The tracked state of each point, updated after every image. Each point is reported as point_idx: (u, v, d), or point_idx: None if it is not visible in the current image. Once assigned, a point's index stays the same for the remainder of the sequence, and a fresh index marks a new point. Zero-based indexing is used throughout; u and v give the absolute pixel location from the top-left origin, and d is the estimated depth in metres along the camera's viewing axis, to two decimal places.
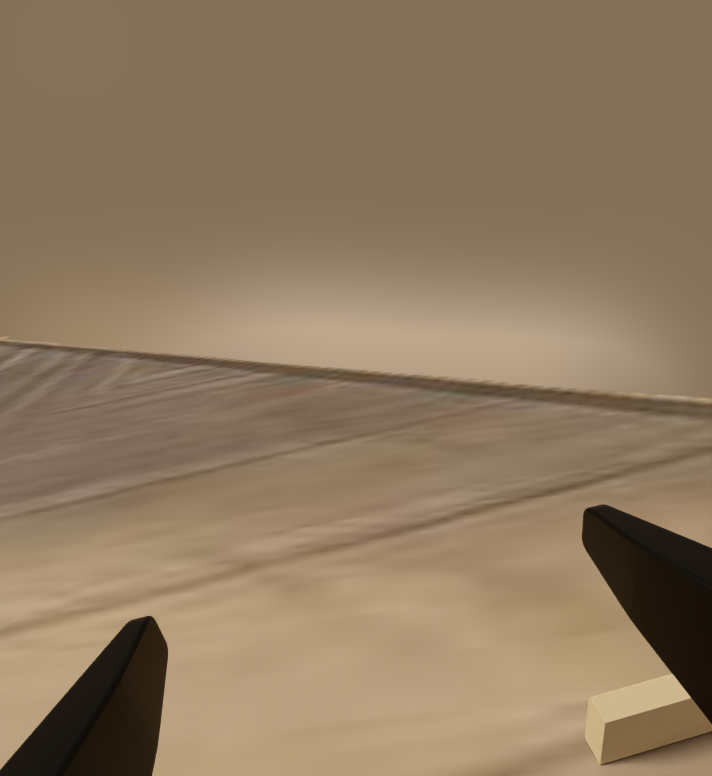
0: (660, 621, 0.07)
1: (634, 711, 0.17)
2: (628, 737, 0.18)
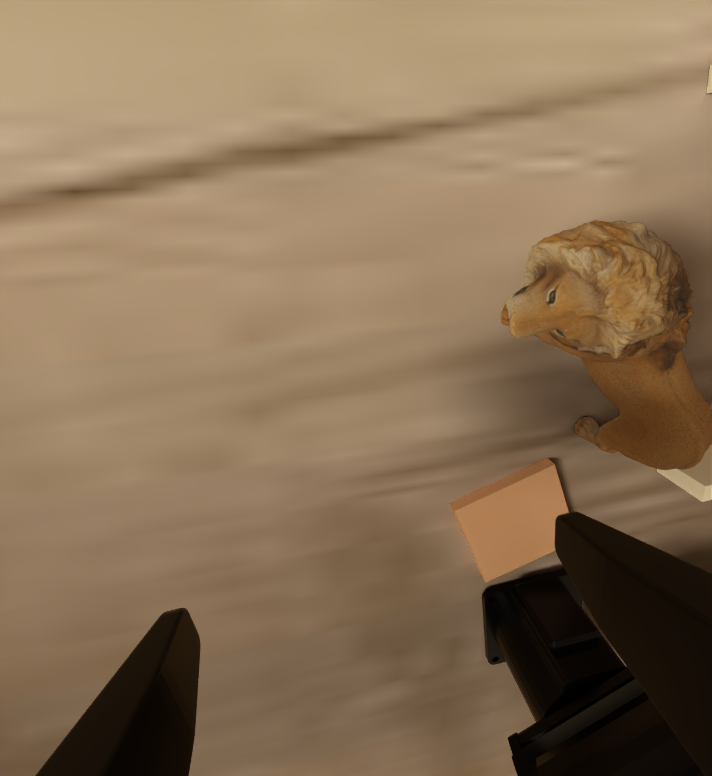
0: (626, 630, 0.07)
1: None
2: None
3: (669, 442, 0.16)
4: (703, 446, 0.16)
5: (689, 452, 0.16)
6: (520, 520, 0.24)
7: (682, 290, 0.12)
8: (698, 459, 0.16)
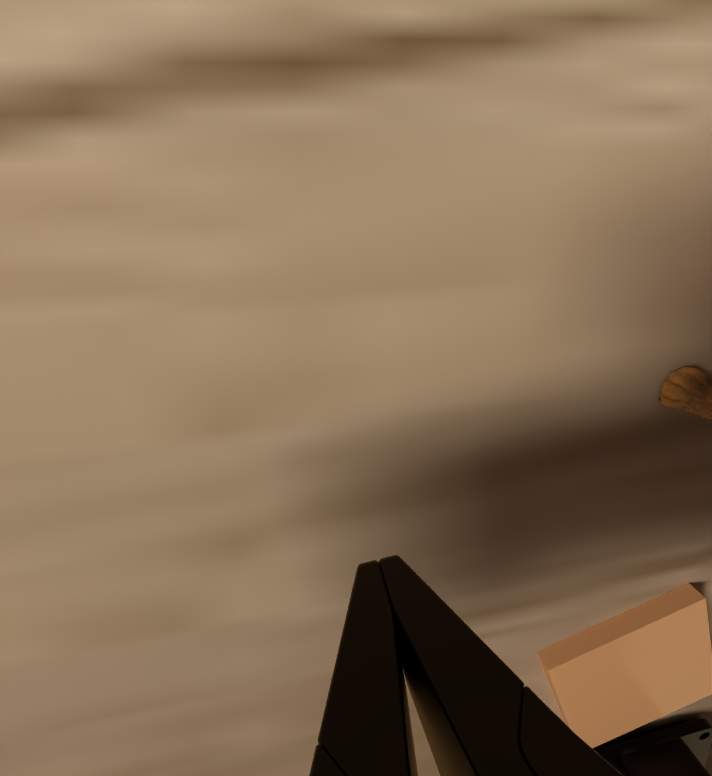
0: (414, 688, 0.07)
1: None
2: None
3: None
4: None
5: None
6: (641, 674, 0.16)
7: None
8: None
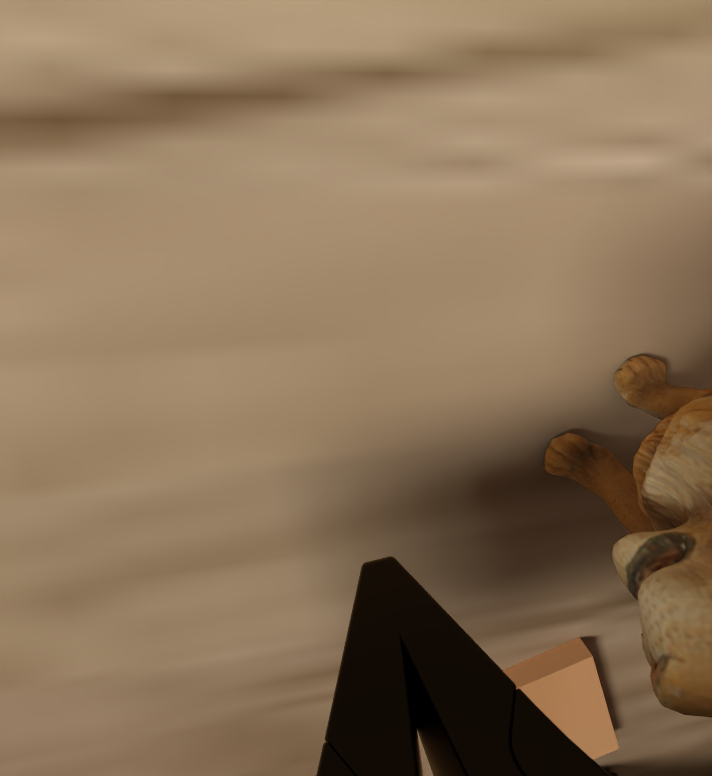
0: None
1: None
2: None
3: None
4: None
5: None
6: None
7: None
8: None
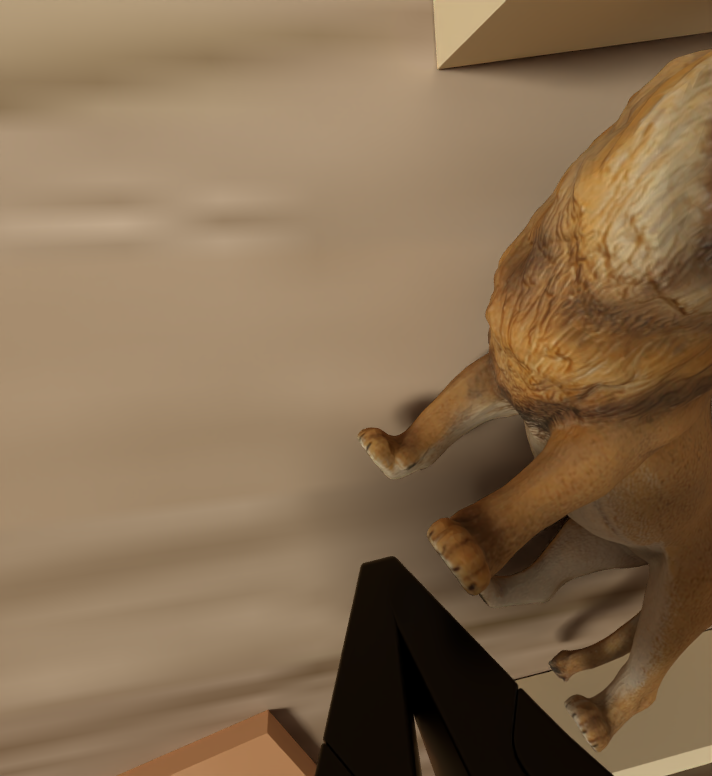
0: (410, 690, 0.07)
1: None
2: (542, 27, 0.06)
3: None
4: None
5: None
6: None
7: None
8: None
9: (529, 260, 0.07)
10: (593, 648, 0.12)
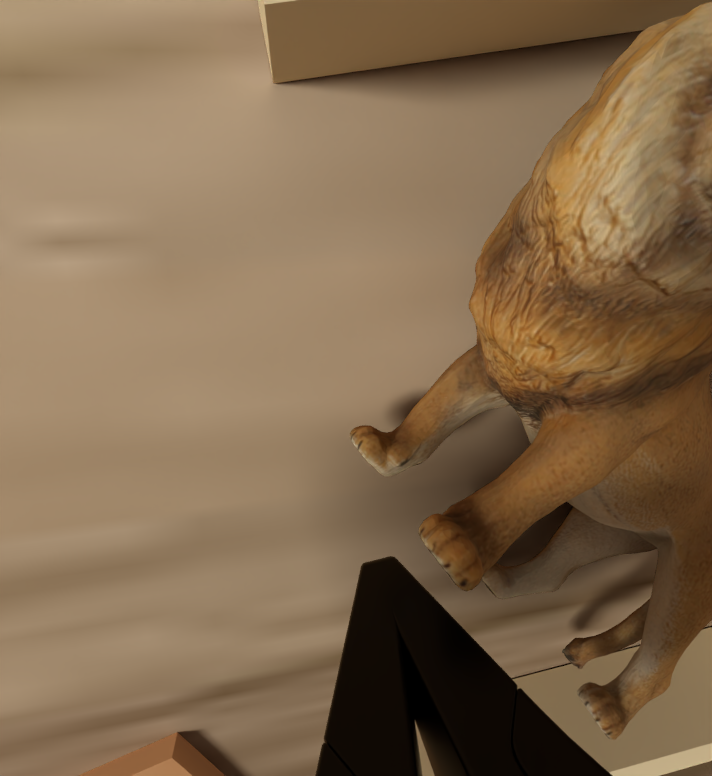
0: (409, 690, 0.07)
1: None
2: (349, 42, 0.06)
3: None
4: None
5: None
6: None
7: None
8: None
9: (508, 248, 0.07)
10: (606, 635, 0.12)
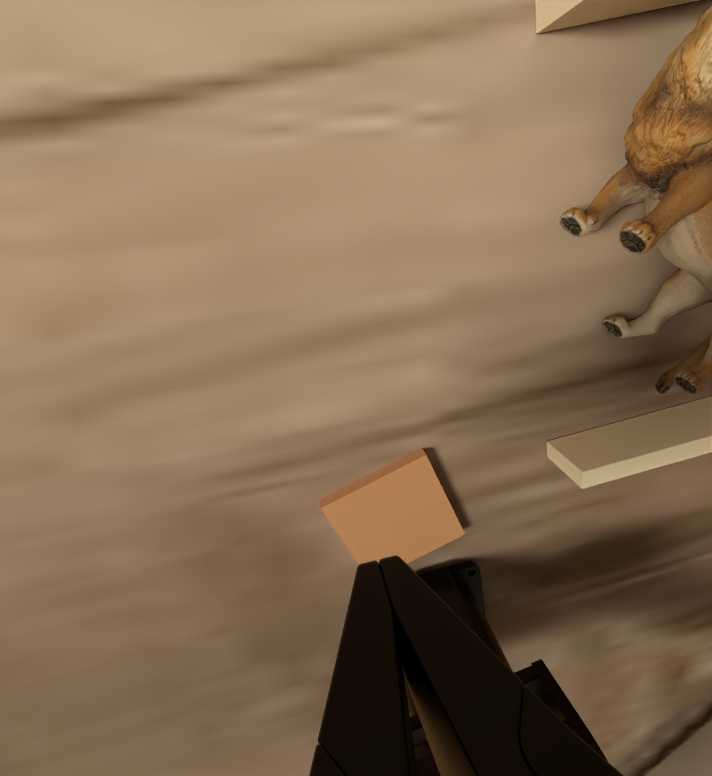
0: (414, 689, 0.07)
1: None
2: (592, 10, 0.14)
3: None
4: None
5: None
6: (397, 515, 0.22)
7: None
8: None
9: (657, 98, 0.15)
10: (685, 360, 0.20)
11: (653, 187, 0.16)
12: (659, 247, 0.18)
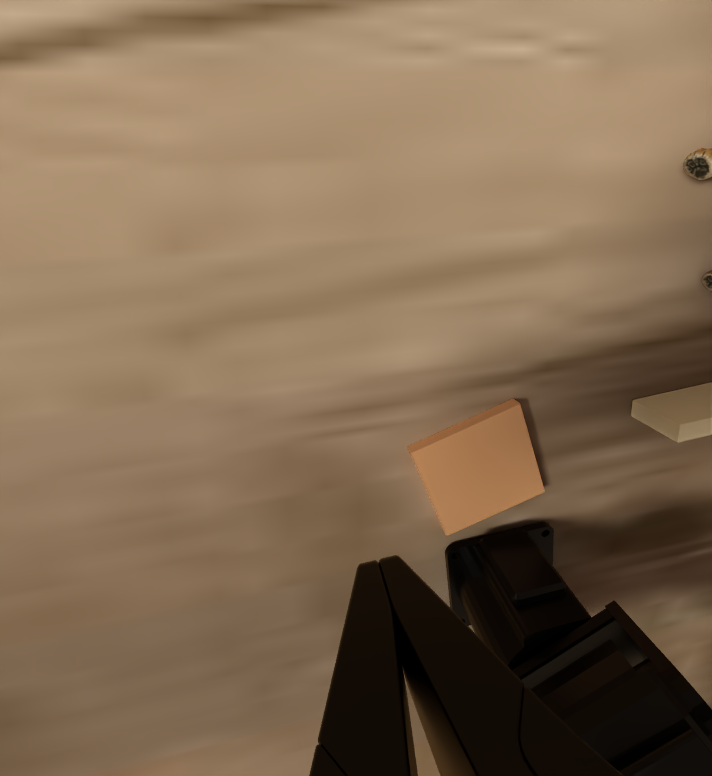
0: (414, 688, 0.07)
1: None
2: None
3: None
4: None
5: None
6: (483, 467, 0.22)
7: None
8: None
9: None
10: None
11: None
12: None
